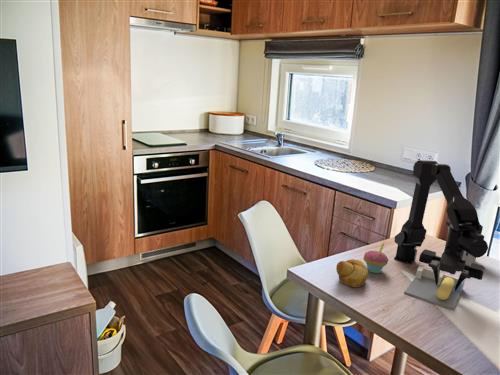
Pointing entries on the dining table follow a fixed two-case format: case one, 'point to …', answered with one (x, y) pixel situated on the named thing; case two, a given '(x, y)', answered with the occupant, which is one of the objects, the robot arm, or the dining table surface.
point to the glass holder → (467, 256)
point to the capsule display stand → (433, 288)
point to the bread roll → (352, 272)
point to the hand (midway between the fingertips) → (445, 287)
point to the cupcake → (375, 260)
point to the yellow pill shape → (445, 288)
